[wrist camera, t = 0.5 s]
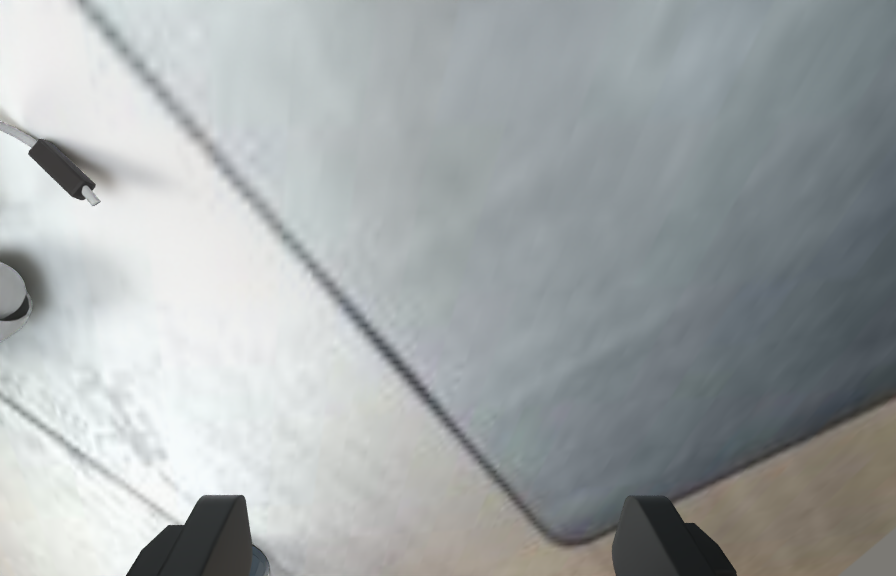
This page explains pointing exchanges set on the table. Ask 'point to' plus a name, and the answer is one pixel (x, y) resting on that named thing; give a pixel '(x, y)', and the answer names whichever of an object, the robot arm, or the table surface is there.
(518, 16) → the table surface
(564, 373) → the table surface
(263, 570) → the tumbler
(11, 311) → the clip-on lamp
